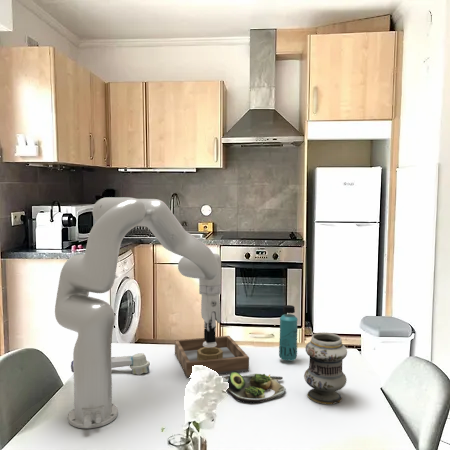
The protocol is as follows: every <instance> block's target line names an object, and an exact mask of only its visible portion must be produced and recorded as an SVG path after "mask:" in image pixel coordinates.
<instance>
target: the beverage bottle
mask: <svg viewBox="0 0 450 450" xmlns="http://www.w3.org/2000/svg"><path fill="white" fill-rule="evenodd" d="M295 310H296V308H295V306H294V305H290V304H286V305H283V308H282V312H283V313H284V314H282V315H281V316H280V317H279V347H278V356H279V358H280V359H281V360H283V361H294V360H296V359H297V357H298V333H299V332H298V320H299V319H298V317H297V316H296V315H295V314H294V313H295V312H296V311H295Z"/></svg>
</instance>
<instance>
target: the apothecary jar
mask: <svg viewBox="0 0 450 450" xmlns="http://www.w3.org/2000/svg"><path fill="white" fill-rule="evenodd" d="M305 352H306V354H307V355H308V356H309V364H308V368H307V369H306V370H305V372H304V375H303V377H304V381H305V383H306V384H307V385H308V386H309V387H311V389H310V390H309V391H308V392H307V397H308V398H309V399H310V400H311V401H312V402H314V403H317V404H321V405H334V404H336V403H338V404H339V403H340V402H341V401H342V400H343V397H342V395H341V394H340V392H338V391H340V390H342V389H343V388H344V387H345V386H346V384H347V376H346V374H345V373H344V371H343V360H344V359H345V358H346V357H347V356H348V349H347V347H346V345H344V344H343V340H342V337H341V336H340V335H338V334H335V333H331V332H316V333H313V334H312V335H311V340H309V342H307V344H306V345H305Z"/></svg>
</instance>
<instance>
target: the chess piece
mask: <svg viewBox="0 0 450 450" xmlns="http://www.w3.org/2000/svg"><path fill="white" fill-rule="evenodd" d="M209 322H211V321H209ZM209 326H210V325H209ZM203 346H204V347H209V348H210V347H215V346H217V343H216V342H212V343H207V342H206V341H205V342H203Z"/></svg>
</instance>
